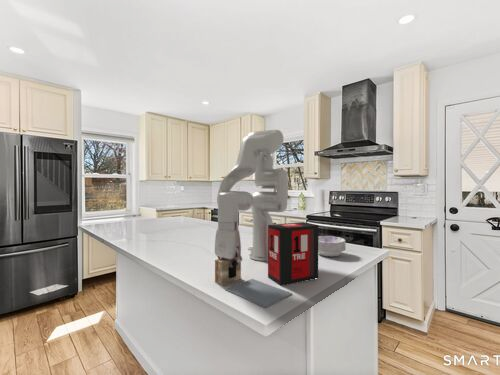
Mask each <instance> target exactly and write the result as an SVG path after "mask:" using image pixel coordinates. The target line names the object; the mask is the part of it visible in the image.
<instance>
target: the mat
mask: <svg viewBox="0 0 500 375" xmlns="http://www.w3.org/2000/svg"><path fill="white" fill-rule="evenodd" d="M224 290H225V291H226V292H229V293H231V294H233V295H235V296H238V297H240V298H242V299H245V300H247V301H249V302H252V303H254V304H255V305H257V306H260V307H262V308H263V309H264V308H265V309H266V308H269V307H271V306H272V305H275V304H276V303H279V301H283V300H284V299H286V298H288V297H290V296H292V295H293V293H292V292H290V291H287V290H284V289H282V288H280V287H277V286H274V285H271V284H268V283H264V282H262V281H259V280H256V279H254V278H250V279H247V280H246V281H245V280H244V281H243V282H239V283H236V284H233V285H231V286H228V287H226V288H224Z"/></svg>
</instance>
